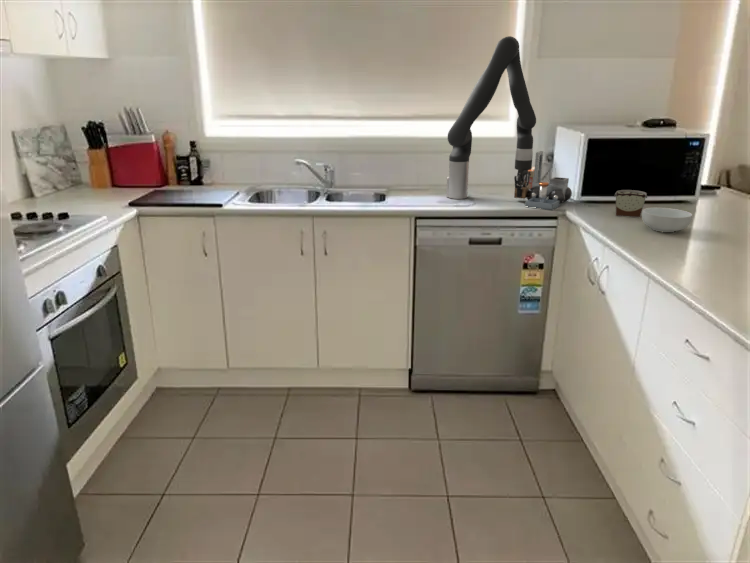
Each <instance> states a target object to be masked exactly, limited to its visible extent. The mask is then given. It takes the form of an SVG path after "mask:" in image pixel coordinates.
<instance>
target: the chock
mask: <svg viewBox="0 0 750 563" xmlns="http://www.w3.org/2000/svg"><path fill="white" fill-rule="evenodd" d="M528 190H529V187H523V188H522V197H517V189H516V188H515V187H514V196H513V198H516V199H523V200H525V199H527V197H526V194H527V191H528Z"/></svg>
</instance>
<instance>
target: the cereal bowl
mask: <svg viewBox="0 0 750 563" xmlns="http://www.w3.org/2000/svg"><path fill="white" fill-rule="evenodd" d="M641 219H642V222H643V224H644V225H646V226H648V227H649V228H650V229H652V231H654V230H656V231H655V232H657V231H663V232H673V233H675V232H674V231H676V232H677V231H681V230H684V229H686V228H688V226H690V225H691V222H692V220H693V213H691V212H689V211H686V210H683V209H677V208H669V207H658V206H657V207H656V206H655V207H646V208H643V209H642V213H641ZM663 232H662V233H663Z"/></svg>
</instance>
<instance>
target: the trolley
mask: <svg viewBox="0 0 750 563" xmlns="http://www.w3.org/2000/svg"><path fill="white" fill-rule="evenodd" d="M534 160H535V161H534V167H535V171H534V182H532V188H531V189H529V190H528V191H527V194H526V197H527V198H526V199H527V200H529V199H531V198H539V190H540V185H539V182H548V183H549V185H548V186H547V197H546V199H550V200H559V201H560V204H559V206H560V205H561V204H563V203H564V202H567V201H569V200H570V199H571V198H572V195H573V193H572V189H571V188H570V187H569V177H558V176H557V177H556V176H554V177H551V178H550V179H549V180H545V179H543V180H542V172H543V171H542V170H543V160H544V150H540V151H536V152H535V159H534ZM537 177H538V180H537Z"/></svg>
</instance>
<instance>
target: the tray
mask: <svg viewBox="0 0 750 563" xmlns="http://www.w3.org/2000/svg"><path fill="white" fill-rule="evenodd" d="M524 203H525V204H524V205H525V206H528V207H527V208H529V207H536V208H535V209H537V208H541V209H540V210H547V211H553V210H556V209H557V208H559V207H560V205H561V204H560V201H559V200H550V199H548V198H546V203H539V198H531V199H529V200H528V199H527V200H526V201H525V202H524ZM559 204H560V205H559ZM525 206H524V207H525ZM555 208H556V209H555Z"/></svg>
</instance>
